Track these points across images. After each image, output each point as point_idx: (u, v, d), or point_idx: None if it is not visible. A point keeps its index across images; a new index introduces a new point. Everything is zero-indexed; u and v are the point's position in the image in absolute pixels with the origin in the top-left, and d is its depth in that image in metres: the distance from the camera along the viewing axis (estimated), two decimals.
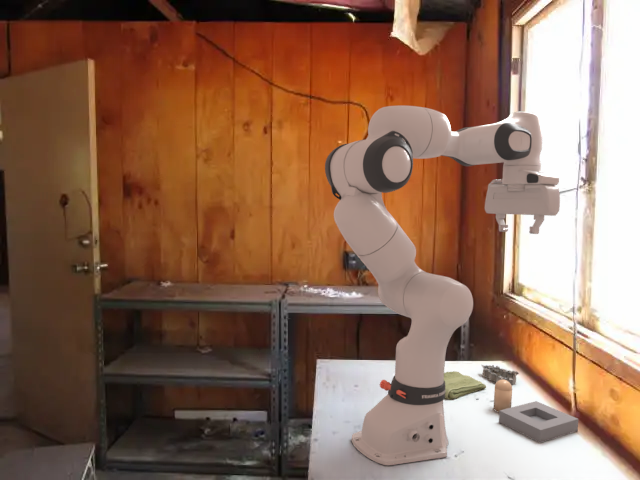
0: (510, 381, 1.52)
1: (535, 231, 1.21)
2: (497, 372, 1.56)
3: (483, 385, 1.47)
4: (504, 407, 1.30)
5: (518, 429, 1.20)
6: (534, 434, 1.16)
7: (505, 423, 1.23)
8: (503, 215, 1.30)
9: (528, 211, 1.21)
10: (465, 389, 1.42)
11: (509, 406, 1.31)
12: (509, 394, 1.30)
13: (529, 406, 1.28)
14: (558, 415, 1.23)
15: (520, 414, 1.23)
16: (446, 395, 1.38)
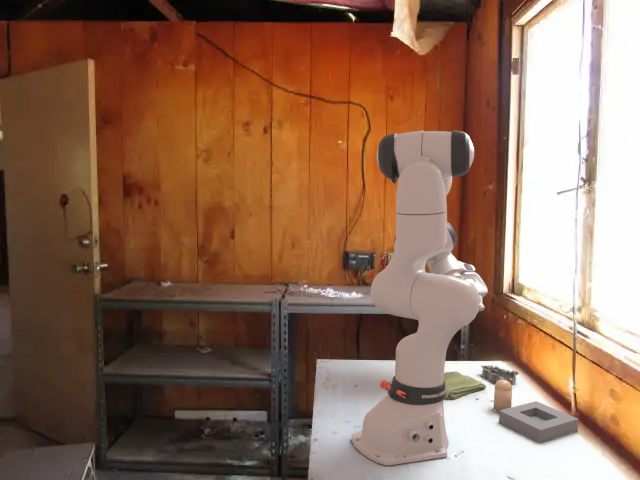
0: (510, 381, 1.52)
1: None
2: (497, 372, 1.56)
3: (483, 385, 1.47)
4: (504, 407, 1.30)
5: (518, 429, 1.20)
6: (534, 434, 1.16)
7: (505, 423, 1.23)
8: None
9: None
10: (465, 389, 1.42)
11: (509, 406, 1.31)
12: (509, 394, 1.30)
13: (529, 406, 1.28)
14: (558, 415, 1.23)
15: (520, 414, 1.23)
16: (446, 395, 1.38)
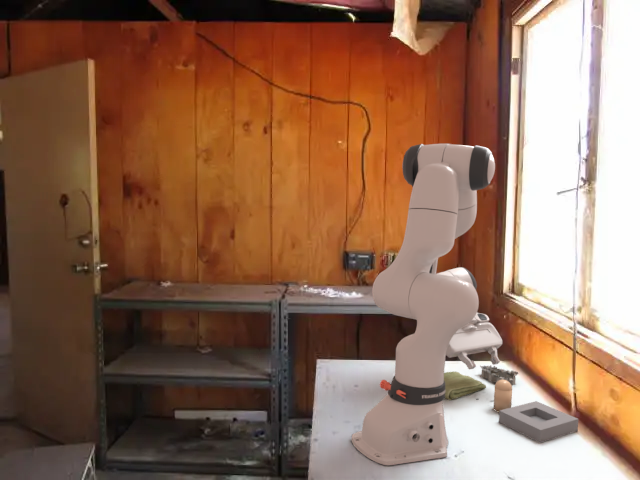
0: (510, 381, 1.52)
1: None
2: (496, 372, 1.56)
3: (483, 385, 1.47)
4: (504, 407, 1.30)
5: (518, 429, 1.20)
6: (534, 434, 1.16)
7: (505, 423, 1.23)
8: None
9: (489, 343, 1.42)
10: (465, 389, 1.42)
11: (509, 406, 1.31)
12: (509, 394, 1.30)
13: (529, 406, 1.28)
14: (558, 415, 1.23)
15: (520, 414, 1.23)
16: (447, 395, 1.38)
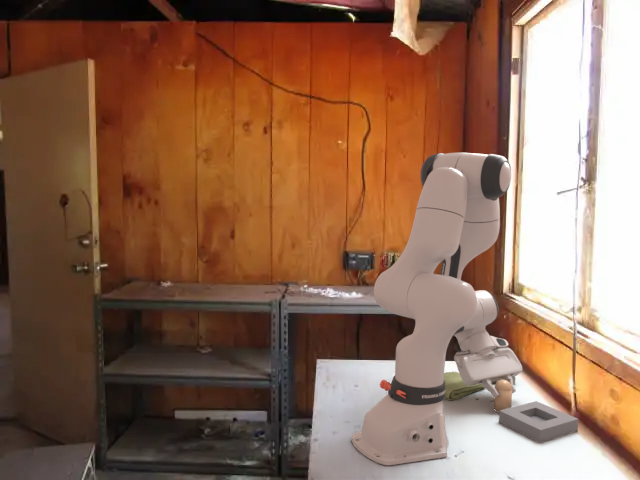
0: None
1: None
2: None
3: None
4: (504, 407, 1.30)
5: (518, 429, 1.20)
6: (534, 434, 1.16)
7: (505, 423, 1.23)
8: None
9: (508, 370, 1.36)
10: (466, 389, 1.42)
11: (509, 406, 1.31)
12: (509, 394, 1.30)
13: (529, 406, 1.28)
14: (558, 415, 1.23)
15: (520, 414, 1.23)
16: (447, 396, 1.38)
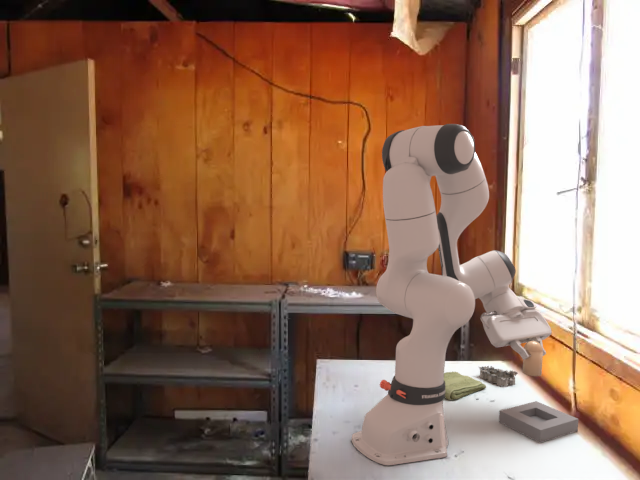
0: (510, 381, 1.52)
1: None
2: (495, 373, 1.55)
3: (483, 385, 1.47)
4: (535, 370, 1.22)
5: (518, 429, 1.20)
6: (534, 434, 1.16)
7: (505, 423, 1.23)
8: None
9: (538, 332, 1.27)
10: (466, 389, 1.42)
11: (540, 369, 1.22)
12: (540, 356, 1.22)
13: (529, 406, 1.28)
14: (558, 415, 1.23)
15: (520, 414, 1.23)
16: (448, 396, 1.38)
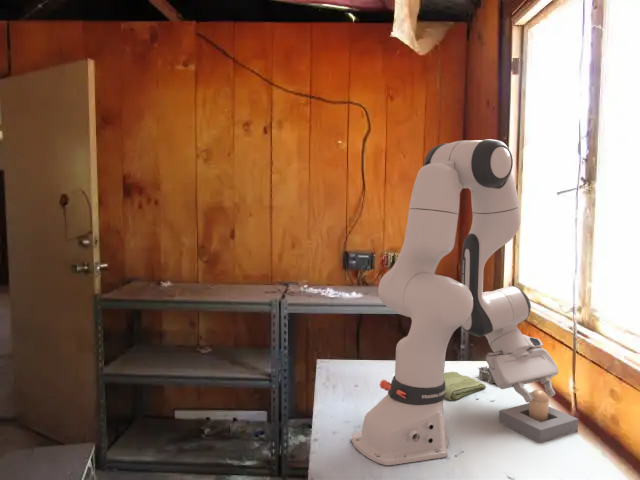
0: None
1: None
2: None
3: (483, 385, 1.47)
4: (541, 420, 1.21)
5: (518, 429, 1.20)
6: (534, 434, 1.16)
7: (505, 423, 1.23)
8: None
9: (544, 372, 1.26)
10: (466, 390, 1.42)
11: (546, 418, 1.21)
12: (546, 406, 1.20)
13: None
14: (558, 415, 1.23)
15: (520, 414, 1.23)
16: (449, 396, 1.38)
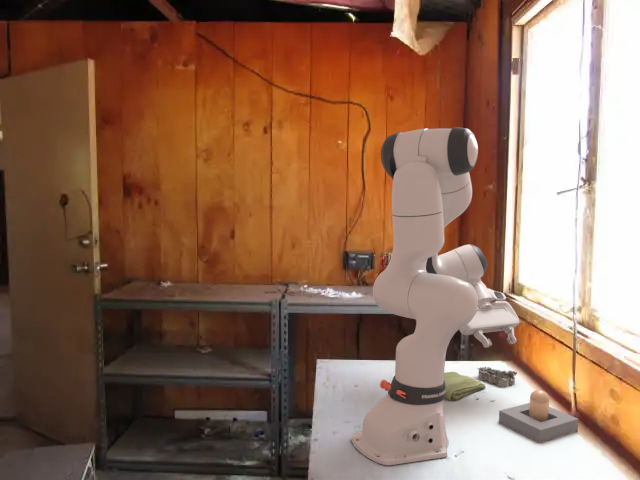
0: (510, 382, 1.52)
1: None
2: (494, 374, 1.55)
3: (483, 385, 1.47)
4: (541, 420, 1.21)
5: (518, 429, 1.20)
6: (534, 434, 1.16)
7: (505, 423, 1.23)
8: None
9: (505, 322, 1.36)
10: (467, 390, 1.42)
11: (546, 419, 1.21)
12: (546, 406, 1.21)
13: (529, 406, 1.28)
14: (558, 415, 1.23)
15: (520, 414, 1.23)
16: (449, 396, 1.38)
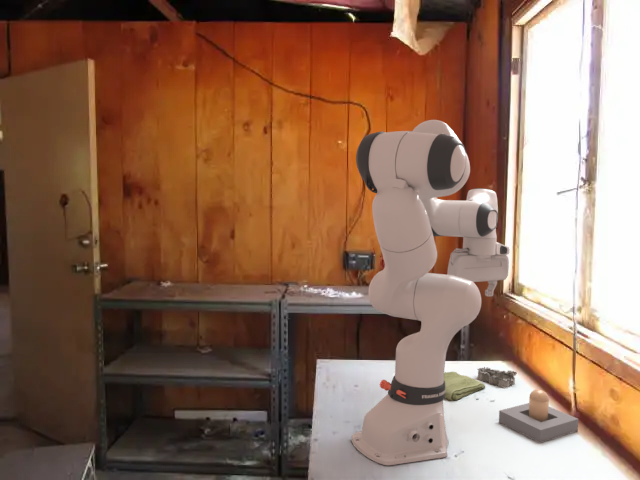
0: (510, 382, 1.52)
1: None
2: (494, 374, 1.55)
3: (482, 385, 1.47)
4: (541, 419, 1.21)
5: (518, 429, 1.20)
6: (534, 434, 1.16)
7: (505, 423, 1.23)
8: None
9: (493, 278, 1.37)
10: (467, 390, 1.42)
11: (546, 418, 1.21)
12: (546, 405, 1.21)
13: None
14: (558, 415, 1.23)
15: (520, 414, 1.23)
16: (449, 396, 1.38)
